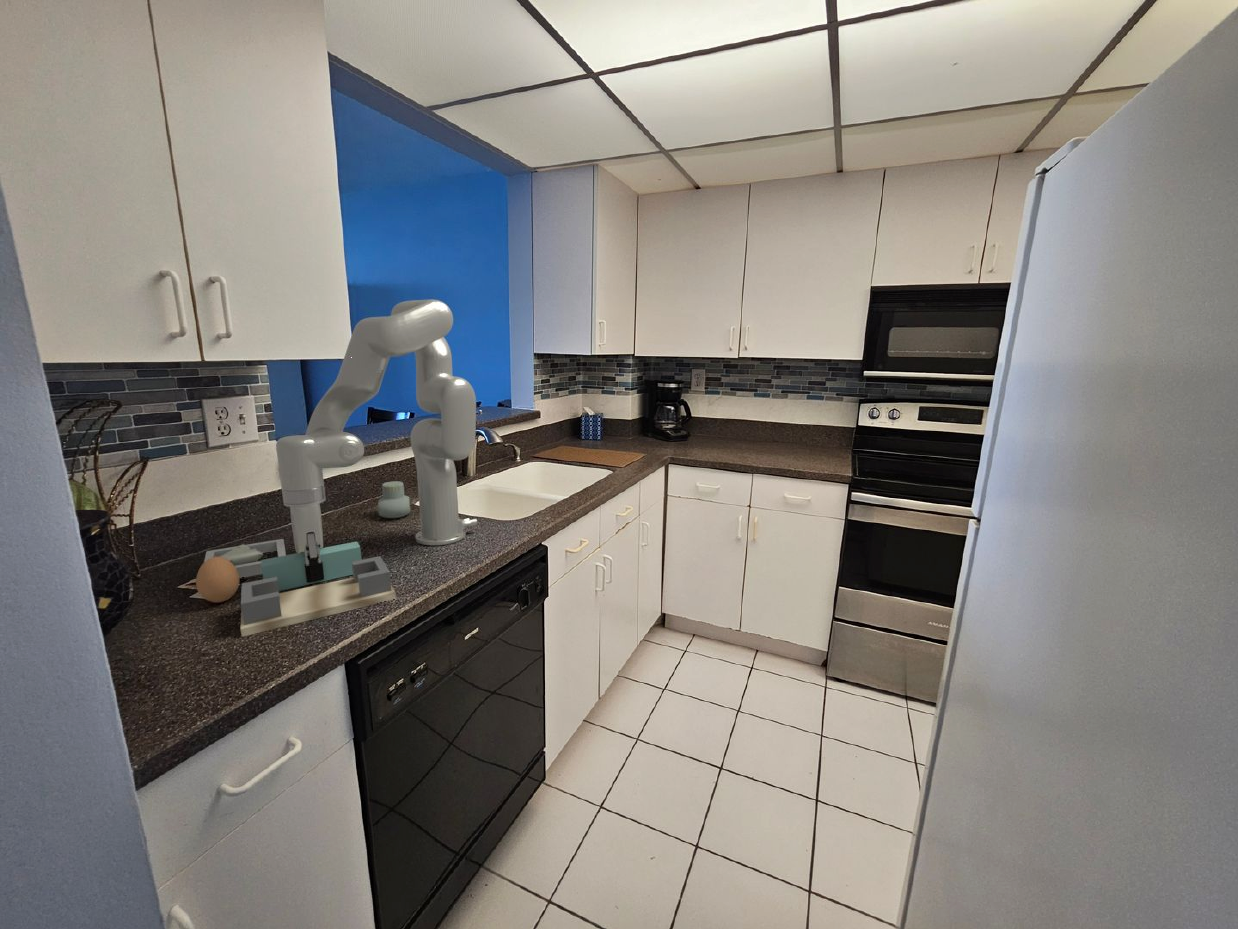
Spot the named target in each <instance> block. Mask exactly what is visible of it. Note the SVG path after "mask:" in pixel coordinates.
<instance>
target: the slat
mask: <svg viewBox="0 0 1238 929" xmlns="http://www.w3.org/2000/svg"><path fill="white" fill-rule="evenodd" d="M361 550H362V549H361V546H360V543H359V542H358V541H352V542H346V543H342V544H337V545H332V546H325V547H323V548H322V549H321V550H320V556H321V561H322V563H323V572H324V580H320V581H316V582H311V583H307V580H306V572H305V564H306V561H305V553H304V552H300V554H298V553H297V552H295V553H291V554H286V555H285V556H280V557H278V556H275V557H271V558H266V559H260V561H261V568H262V574H261V575H262V579H268V578H273V577H277V581H278V588H279V592H281V591H285V590H291V589H294V588H299V587H304V586H309V585H312V584H317V583H322V582H326V581H330V580H334V579H339V578H343V577H348V576H353V570H352V562H353V561H358V560H363V559H362V551H361ZM308 555H310V553H308Z"/></svg>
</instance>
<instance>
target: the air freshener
mask: <svg viewBox="0 0 1238 929" xmlns="http://www.w3.org/2000/svg"><path fill="white" fill-rule="evenodd" d="M404 485H405V484H404V482H402V481H397V480H395V481H393V480H392V481H387V482H383V483H382V484H381V492H382V497H381V498H379V499H378V503H377V504H378V505H377V506H378V507H377V509H378V510H377V511H378V515H379V516H380V517H382V518H385V519H398V518H403V517H406V516H407V515H409V514H410V513H411V501H410V500H411V498H410V497H409V496H408V495H405V486H404ZM405 515H406V516H405Z"/></svg>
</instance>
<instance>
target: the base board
mask: <svg viewBox="0 0 1238 929" xmlns="http://www.w3.org/2000/svg"><path fill="white" fill-rule="evenodd" d="M279 595H280V607H281V614H282V616H281V617H277V618H273V619H268V620H264V621H260V622H256V623H251V624H247V625H244V621H243V615H242V609H241V611H240V612H241V613H240V634H241V637H242V638H243V637H247V636H252V635H256V634H260V633H264V632H267V631H268V632H269V631H271V630H277V629H280V628H284V627H288V626H291V625H296V624H300V623H301V624H302V623H304V622H308V621H311V620H312V621H313V620H317V619H322V618H325V617H328V616H329V617H330V616H333V615H337V614H340V613H344V612H350V611H354V610H356V609H361V608H365V607H370V606H373V605H378V604H381V603H380V602H382V603H385V602H384V601H386V602H389V601H390V602H391V601H394V600H393V599H395V600H397V594H396V590H395V588H394V587H393V586H392V584H391V591H387V592H383V593H379V594H375V595H370V596H366V597H362V598H361V596H360V593H359V584H358V583H355V582H354V579H353V577H349V578H346V579H345V578H344V579H340V580H336V581H335V580H334V581H330V582H327V583H326V582H325V583H321V584H317V585H312V586H307V587H303V588H298V589H293V590H289V591H284V592H279ZM377 603H378V604H377Z"/></svg>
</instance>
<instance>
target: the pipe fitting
mask: <svg viewBox="0 0 1238 929" xmlns="http://www.w3.org/2000/svg"><path fill="white" fill-rule="evenodd" d="M246 545H247V544H243V543H242V544H240V545H238V547H236V546H235V547H236V548H234V549H232V550H231V551H229V552H228V553H226V554H224V555H222V556H220V557H222V558H225V559H227V560H229V561H230V562H231V563H232V564H233V565H234V566H237V565H242V564H248V563H253V562H259V561H260V560H261V559H262V557H263V556H264V554H263V553H260V551H257V550H256V549H250V548H249V547H248V546H246Z"/></svg>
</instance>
